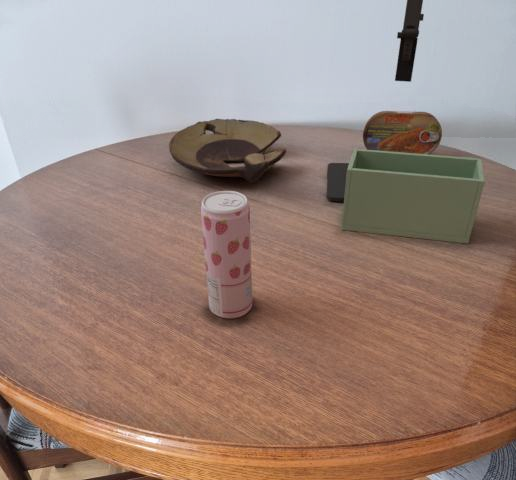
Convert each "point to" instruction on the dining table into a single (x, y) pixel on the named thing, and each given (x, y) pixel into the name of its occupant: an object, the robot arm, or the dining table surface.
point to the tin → (402, 132)
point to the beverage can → (227, 253)
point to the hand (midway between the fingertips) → (404, 70)
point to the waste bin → (412, 195)
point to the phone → (336, 181)
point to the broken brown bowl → (226, 148)
